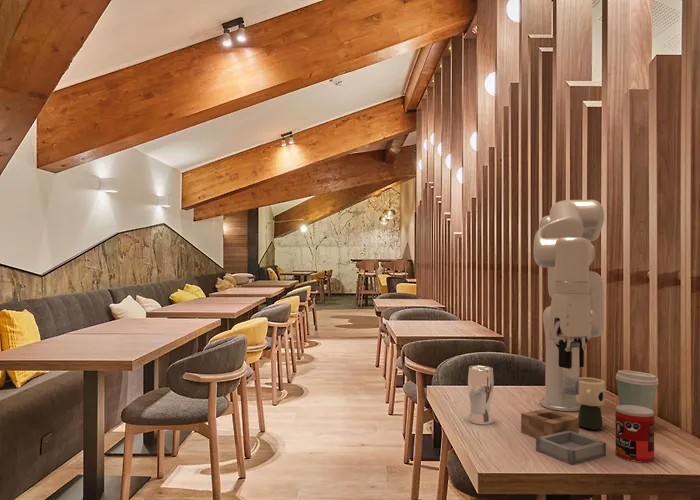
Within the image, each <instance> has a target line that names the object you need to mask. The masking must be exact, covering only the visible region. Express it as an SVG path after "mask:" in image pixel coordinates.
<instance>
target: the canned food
mask: <svg viewBox="0 0 700 500" xmlns="http://www.w3.org/2000/svg"><path fill="white" fill-rule="evenodd" d="M615 453H616V455H617V456H618V457H619V456H620V458H621V457H622V458H621V459H624V458H625V459H624V460H626V459H629V460H628V461H630V460H635V461H641V462H640V463H649V462H648V461H650V462H651V461H652V462H653V460H654V457H655V412H654V410H653V409H652V410H651V409H649V408H646V407H641V406H635V405H620V404H618V405H616V406H615ZM635 461H634V462H635Z"/></svg>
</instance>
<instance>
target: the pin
mask: <svg viewBox="0 0 700 500" xmlns="http://www.w3.org/2000/svg"><path fill="white" fill-rule="evenodd" d="M564 343H565V341H564ZM570 351H571V352H572V368H571V369H567V368H563V393H565V394H570V395H578V394H579V378H580V369H581V367H580V342H576V341H572V340H571V344H570Z"/></svg>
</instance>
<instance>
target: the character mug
mask: <svg viewBox="0 0 700 500" xmlns="http://www.w3.org/2000/svg"><path fill="white" fill-rule="evenodd" d="M605 394H606V381H605V380H604V379H600V378H594V377H582V376H581V377H579V394H578V395H576V401H577V402H578V403H580V404H582V405H581V406H580V409H579V411H578V416H577V418H579V427H583V428H588V430H602V429H603V426H604V425H603V416H602V409H601V406H604V405H605V404H606V403H605V402H606V399H605V398H606V395H605Z"/></svg>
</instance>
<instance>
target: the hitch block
mask: <svg viewBox="0 0 700 500" xmlns="http://www.w3.org/2000/svg"><path fill="white" fill-rule="evenodd" d="M568 430H570V431H573V432H576V433H579V434H580V426H579V418H578V417H576V416H572V415H570V414H566V413H563V412H561V411H558V410H553V409H549V408H543V409H537V410H531V411H527V412H521V414H520V433H522V434H524V435H527V436H530V437H532V438H534V439H536V438H537V437H541V436H546V435H550V434H555V433H559V432H564V431H568Z"/></svg>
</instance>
